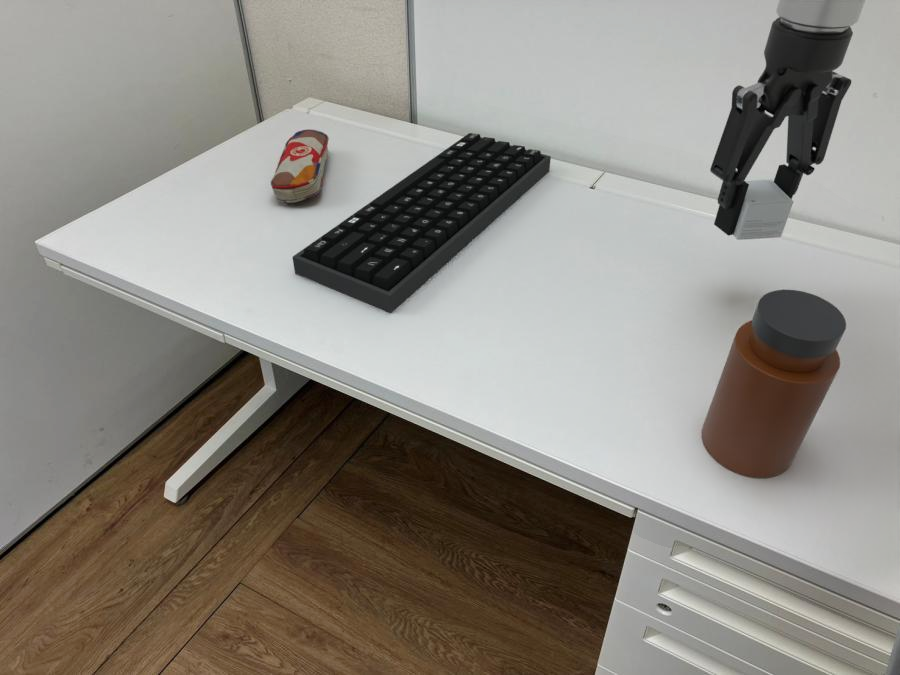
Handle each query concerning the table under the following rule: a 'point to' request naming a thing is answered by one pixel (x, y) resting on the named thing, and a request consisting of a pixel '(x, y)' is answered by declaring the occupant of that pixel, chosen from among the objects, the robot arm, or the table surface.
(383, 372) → the table surface
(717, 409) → the bottle
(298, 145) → the pencil case
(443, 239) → the computer keyboard
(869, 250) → the table surface
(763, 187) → the small box
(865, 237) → the table surface
